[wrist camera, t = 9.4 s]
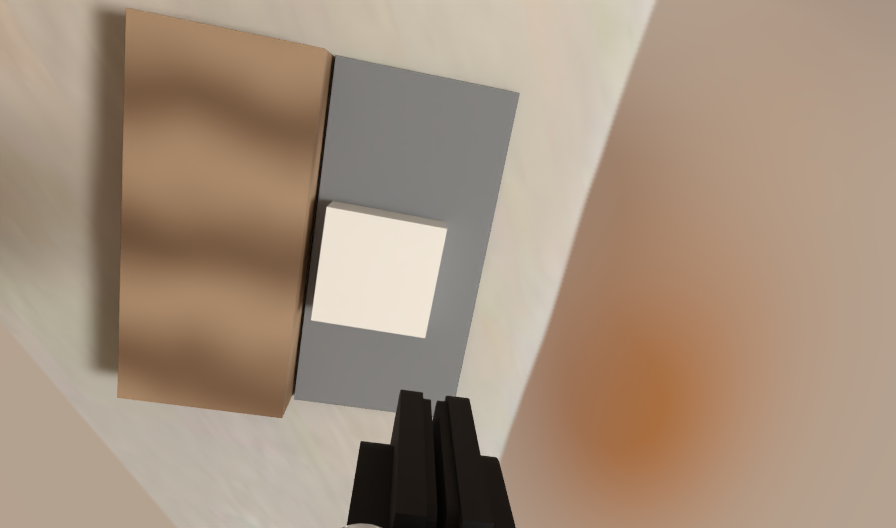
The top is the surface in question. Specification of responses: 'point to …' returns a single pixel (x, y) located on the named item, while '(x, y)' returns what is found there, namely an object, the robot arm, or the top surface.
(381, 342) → the mat
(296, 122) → the board
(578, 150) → the top surface
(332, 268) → the block
